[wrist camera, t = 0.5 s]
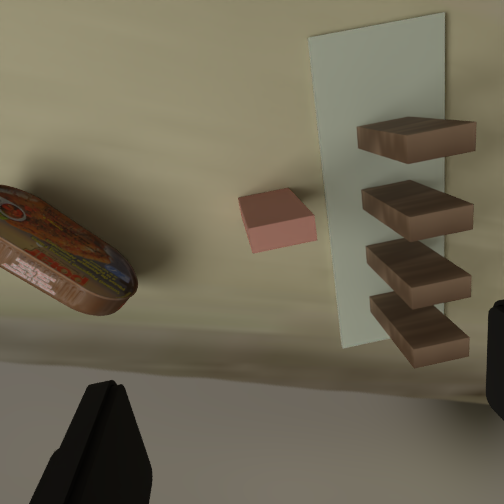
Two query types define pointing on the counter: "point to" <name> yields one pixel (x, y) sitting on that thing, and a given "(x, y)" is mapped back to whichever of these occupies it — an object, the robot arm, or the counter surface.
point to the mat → (366, 163)
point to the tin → (61, 256)
